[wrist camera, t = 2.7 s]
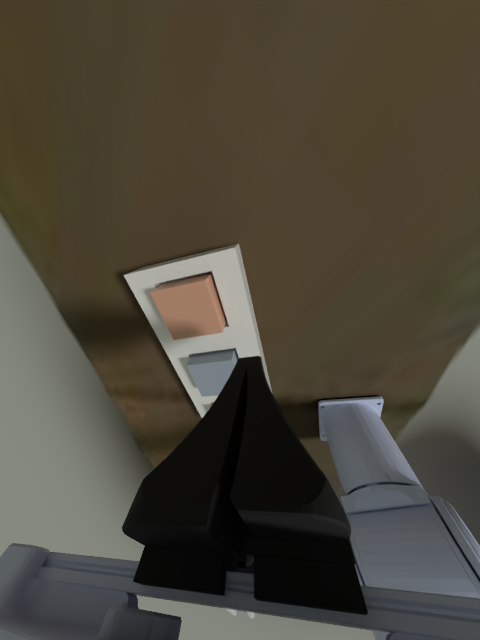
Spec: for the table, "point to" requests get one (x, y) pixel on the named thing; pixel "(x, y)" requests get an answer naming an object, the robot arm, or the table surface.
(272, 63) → the table surface
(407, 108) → the table surface
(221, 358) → the slate key
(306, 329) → the table surface
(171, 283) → the terracotta key
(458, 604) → the robot arm
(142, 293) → the keypad
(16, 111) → the table surface
